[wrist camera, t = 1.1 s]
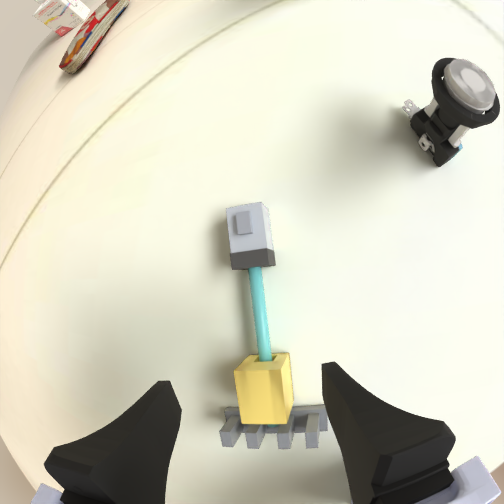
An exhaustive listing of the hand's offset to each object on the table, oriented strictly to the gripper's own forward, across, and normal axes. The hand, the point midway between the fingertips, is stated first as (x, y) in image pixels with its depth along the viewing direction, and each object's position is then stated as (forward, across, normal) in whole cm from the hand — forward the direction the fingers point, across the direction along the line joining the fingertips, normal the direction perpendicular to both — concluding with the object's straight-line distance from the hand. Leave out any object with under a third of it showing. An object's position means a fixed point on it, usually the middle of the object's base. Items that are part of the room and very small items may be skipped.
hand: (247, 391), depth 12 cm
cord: (+10, -1, +3) cm, 11 cm away
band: (+12, -1, -3) cm, 13 cm away
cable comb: (+8, -1, +11) cm, 13 cm away
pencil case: (+32, +20, -44) cm, 58 cm away
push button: (+12, -18, -12) cm, 25 cm away
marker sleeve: (+9, -1, +7) cm, 11 cm away
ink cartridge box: (+39, +32, -58) cm, 77 cm away
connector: (+13, -1, -5) cm, 14 cm away
